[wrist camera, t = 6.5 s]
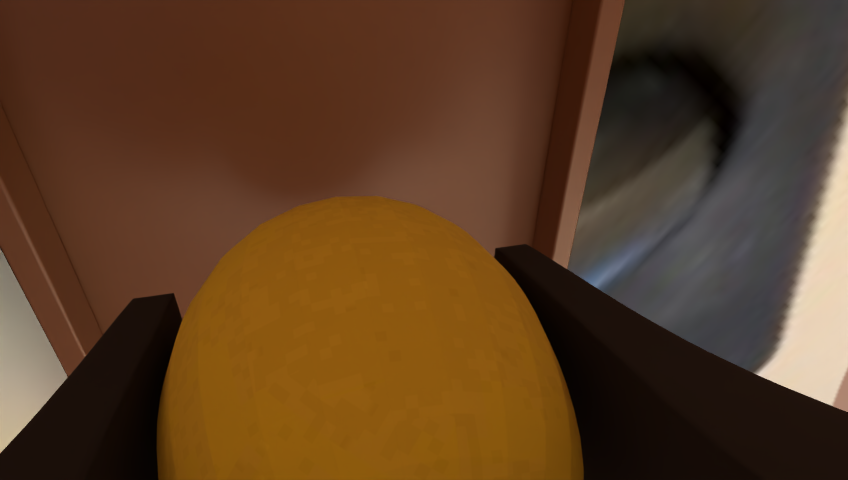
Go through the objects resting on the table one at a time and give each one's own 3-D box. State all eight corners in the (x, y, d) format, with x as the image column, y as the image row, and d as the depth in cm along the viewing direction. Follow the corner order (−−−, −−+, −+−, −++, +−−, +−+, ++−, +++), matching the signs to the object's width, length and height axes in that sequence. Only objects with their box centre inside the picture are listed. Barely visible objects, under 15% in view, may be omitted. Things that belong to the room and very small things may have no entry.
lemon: (497, 151, 11) (858, 548, 4) (418, 350, 13) (569, 784, 7) (206, 91, 9) (56, 685, 2) (180, 340, 11) (76, 948, 5)
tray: (517, 389, 20) (535, 423, 19) (146, 465, 17) (137, 512, 16) (642, -321, 10) (702, -354, 8) (-276, -441, 7) (-406, -521, 5)
